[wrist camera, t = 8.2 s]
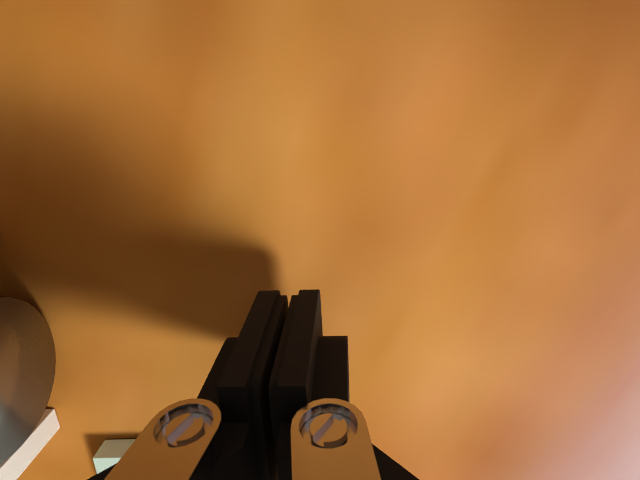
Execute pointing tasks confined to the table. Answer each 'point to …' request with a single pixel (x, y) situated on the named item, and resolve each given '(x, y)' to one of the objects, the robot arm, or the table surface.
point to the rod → (23, 372)
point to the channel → (30, 446)
